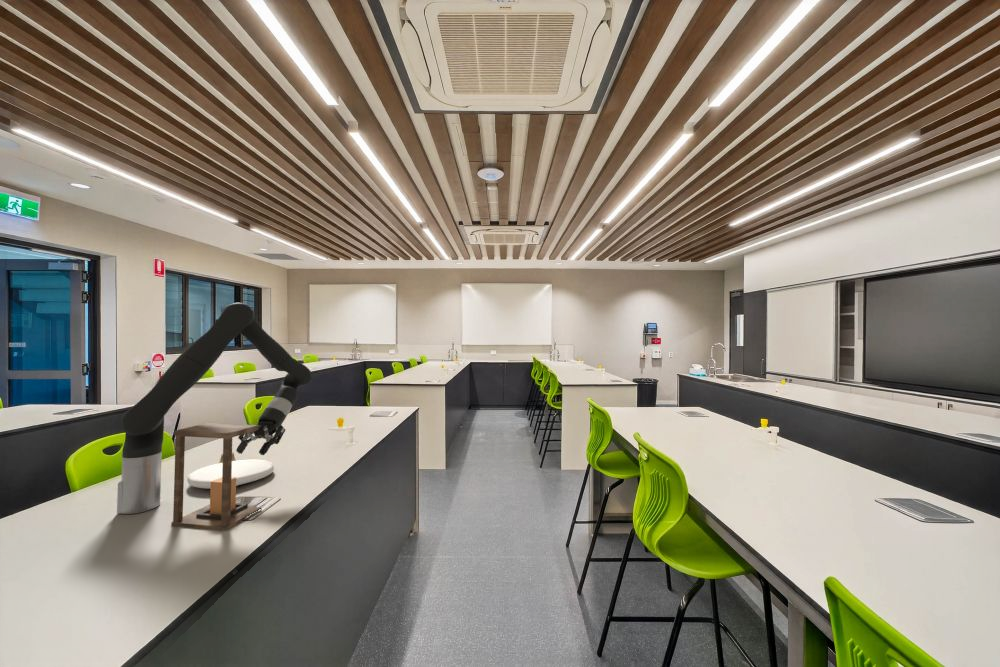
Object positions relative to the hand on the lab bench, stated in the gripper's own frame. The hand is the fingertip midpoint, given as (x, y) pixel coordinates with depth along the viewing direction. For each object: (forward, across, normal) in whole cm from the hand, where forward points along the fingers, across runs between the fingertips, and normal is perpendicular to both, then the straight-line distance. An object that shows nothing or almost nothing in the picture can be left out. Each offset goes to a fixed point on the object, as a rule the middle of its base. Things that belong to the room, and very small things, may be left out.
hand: (249, 453), depth 126 cm
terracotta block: (+18, 0, +4) cm, 18 cm away
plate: (0, -22, +24) cm, 32 cm away
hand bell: (-10, -38, +33) cm, 52 cm away
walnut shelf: (+19, 0, +4) cm, 20 cm away
